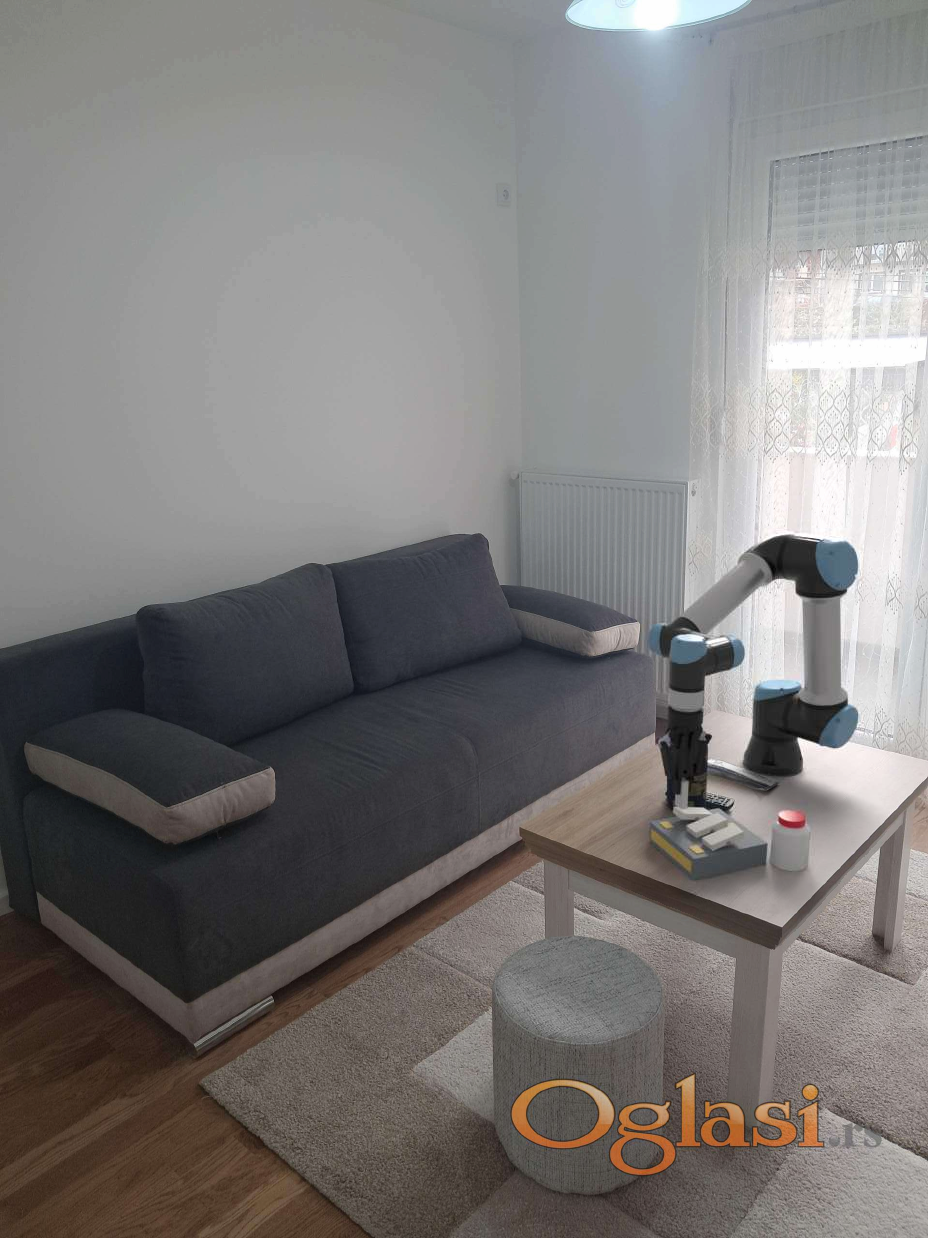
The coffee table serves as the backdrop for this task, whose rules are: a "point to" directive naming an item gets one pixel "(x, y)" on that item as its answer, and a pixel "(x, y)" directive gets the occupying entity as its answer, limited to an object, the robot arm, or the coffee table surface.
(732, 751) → the coffee table surface
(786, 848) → the pill bottle
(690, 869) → the switch unit
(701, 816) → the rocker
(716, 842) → the block
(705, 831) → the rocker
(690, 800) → the canister
